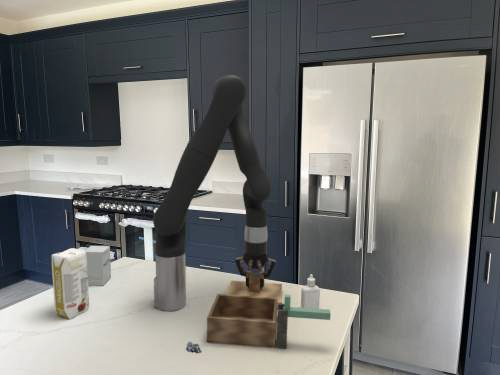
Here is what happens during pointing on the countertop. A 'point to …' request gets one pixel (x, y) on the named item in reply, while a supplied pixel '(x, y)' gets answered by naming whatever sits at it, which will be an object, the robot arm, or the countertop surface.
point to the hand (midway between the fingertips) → (254, 287)
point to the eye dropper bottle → (310, 294)
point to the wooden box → (247, 321)
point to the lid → (255, 288)
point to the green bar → (305, 311)
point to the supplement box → (98, 265)
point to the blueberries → (193, 348)
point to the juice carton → (70, 282)
